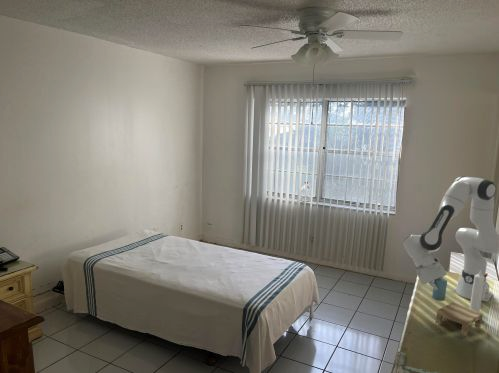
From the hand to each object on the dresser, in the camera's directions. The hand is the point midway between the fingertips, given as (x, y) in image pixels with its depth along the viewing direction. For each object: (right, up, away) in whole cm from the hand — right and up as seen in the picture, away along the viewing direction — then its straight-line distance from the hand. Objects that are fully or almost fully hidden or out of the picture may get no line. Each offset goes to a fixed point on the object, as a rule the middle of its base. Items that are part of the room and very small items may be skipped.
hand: (441, 288), depth 196 cm
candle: (+17, -15, 0) cm, 22 cm away
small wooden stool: (+3, -15, -10) cm, 19 cm away
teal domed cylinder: (-1, -6, +1) cm, 6 cm away
